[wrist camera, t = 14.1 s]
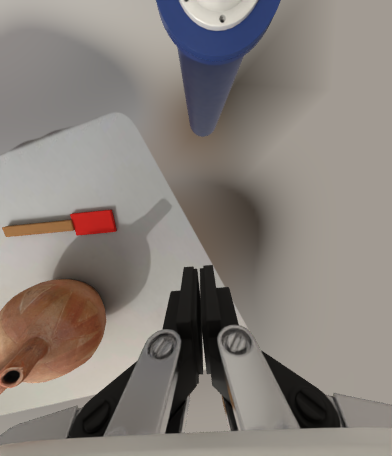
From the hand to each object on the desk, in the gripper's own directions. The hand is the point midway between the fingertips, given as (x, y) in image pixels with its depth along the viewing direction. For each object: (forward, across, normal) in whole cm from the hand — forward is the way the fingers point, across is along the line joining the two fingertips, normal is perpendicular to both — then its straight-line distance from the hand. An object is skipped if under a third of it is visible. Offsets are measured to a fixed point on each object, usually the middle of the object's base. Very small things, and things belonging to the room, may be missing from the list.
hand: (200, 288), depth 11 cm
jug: (+26, +30, +20) cm, 44 cm away
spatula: (+26, +28, +2) cm, 38 cm away
